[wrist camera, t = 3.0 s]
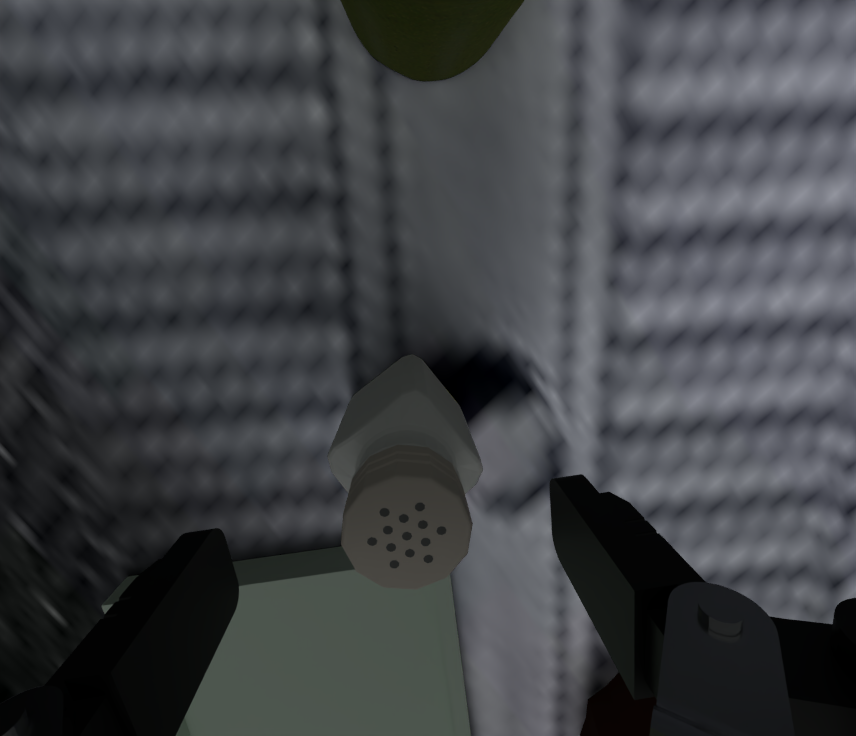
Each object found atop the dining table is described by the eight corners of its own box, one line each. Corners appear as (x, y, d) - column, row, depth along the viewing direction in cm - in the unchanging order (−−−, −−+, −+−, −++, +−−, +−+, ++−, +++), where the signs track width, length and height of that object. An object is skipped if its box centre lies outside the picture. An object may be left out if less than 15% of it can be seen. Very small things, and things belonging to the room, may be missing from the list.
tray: (444, 531, 21) (447, 556, 19) (473, 759, 25) (479, 796, 23) (127, 576, 20) (101, 605, 19) (209, 800, 24) (193, 841, 23)
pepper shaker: (465, 410, 19) (521, 544, 10) (399, 460, 20) (394, 631, 10) (412, 345, 18) (420, 426, 9) (344, 399, 19) (286, 527, 10)
